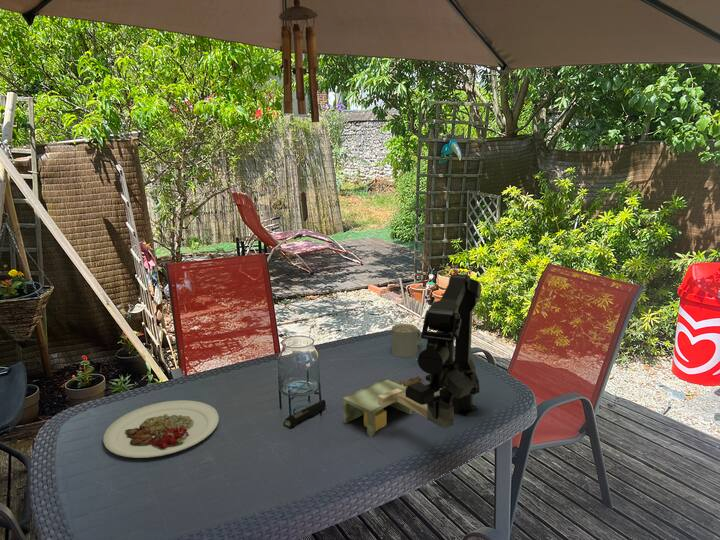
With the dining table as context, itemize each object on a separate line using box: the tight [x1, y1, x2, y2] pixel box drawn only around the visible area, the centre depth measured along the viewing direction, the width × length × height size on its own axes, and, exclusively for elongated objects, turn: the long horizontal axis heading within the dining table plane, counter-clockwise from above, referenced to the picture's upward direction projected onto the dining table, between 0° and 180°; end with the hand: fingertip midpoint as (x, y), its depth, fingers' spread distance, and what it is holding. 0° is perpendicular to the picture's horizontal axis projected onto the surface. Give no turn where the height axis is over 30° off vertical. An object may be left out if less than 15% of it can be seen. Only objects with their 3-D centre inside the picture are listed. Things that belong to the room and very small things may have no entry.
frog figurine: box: [395, 375, 425, 387], centre depth 165 cm, size 12×12×4 cm
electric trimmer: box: [282, 399, 327, 430], centre depth 147 cm, size 4×15×3 cm, turn 139°
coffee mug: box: [391, 323, 422, 358], centre depth 195 cm, size 13×10×10 cm
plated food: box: [102, 399, 220, 459], centre depth 141 cm, size 30×30×3 cm
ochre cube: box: [363, 408, 387, 432], centre depth 142 cm, size 4×4×4 cm
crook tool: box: [378, 388, 455, 430], centre depth 129 cm, size 8×20×5 cm, turn 37°
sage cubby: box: [342, 378, 413, 437], centre depth 146 cm, size 18×11×8 cm, turn 135°
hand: (440, 416), depth 125 cm, fingers closed on crook tool, 3 cm apart
